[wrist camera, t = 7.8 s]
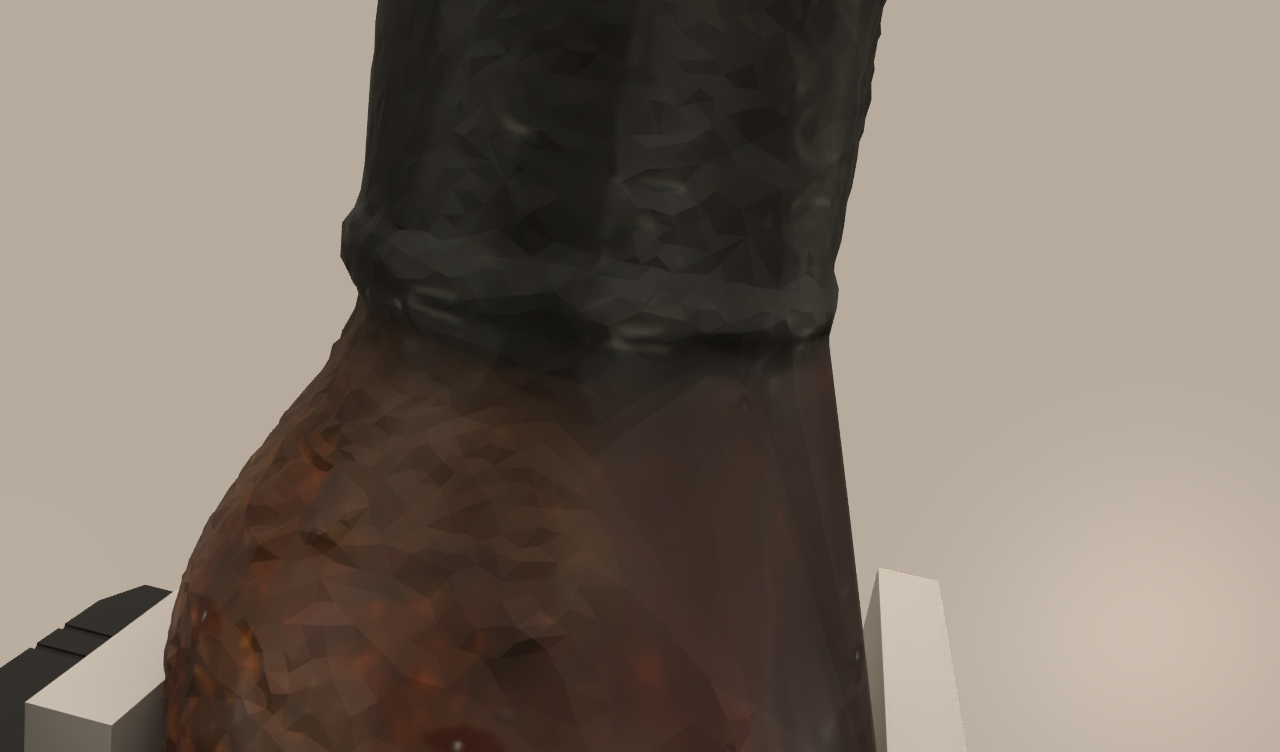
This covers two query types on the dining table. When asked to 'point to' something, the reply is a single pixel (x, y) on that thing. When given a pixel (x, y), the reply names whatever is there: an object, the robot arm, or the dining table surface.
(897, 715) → the robot arm
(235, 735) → the sauce bottle
